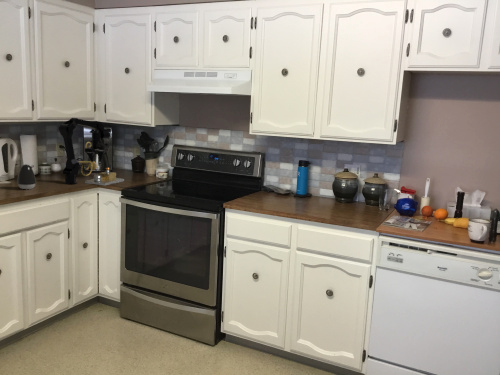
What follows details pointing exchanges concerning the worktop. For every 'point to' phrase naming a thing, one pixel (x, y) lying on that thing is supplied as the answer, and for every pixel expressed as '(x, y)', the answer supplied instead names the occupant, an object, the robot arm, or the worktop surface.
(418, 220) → the worktop surface
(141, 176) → the worktop surface
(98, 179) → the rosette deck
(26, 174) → the pump dispenser
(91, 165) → the wall sconce
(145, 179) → the worktop surface
